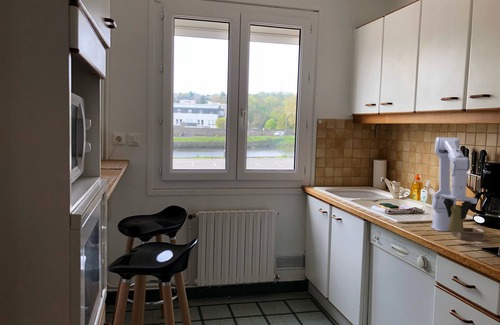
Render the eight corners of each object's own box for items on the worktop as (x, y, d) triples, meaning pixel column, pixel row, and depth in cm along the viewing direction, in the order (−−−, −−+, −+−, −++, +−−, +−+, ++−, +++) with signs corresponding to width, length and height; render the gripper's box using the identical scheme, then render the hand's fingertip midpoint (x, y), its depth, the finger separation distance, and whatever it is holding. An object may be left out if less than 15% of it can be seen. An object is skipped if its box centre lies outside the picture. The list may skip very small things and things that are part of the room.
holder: (451, 234, 194) (452, 227, 194) (473, 235, 194) (473, 227, 193) (460, 240, 185) (461, 232, 184) (483, 240, 184) (484, 232, 184)
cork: (459, 230, 183) (461, 204, 183) (466, 232, 177) (468, 206, 177) (445, 229, 184) (447, 203, 183) (451, 231, 177) (453, 205, 177)
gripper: (437, 184, 182) (435, 216, 183) (472, 188, 171) (470, 222, 172) (444, 183, 187) (442, 214, 188) (479, 187, 176) (477, 220, 177)
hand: (456, 218), depth 181 cm, fingers closed on cork, 5 cm apart
